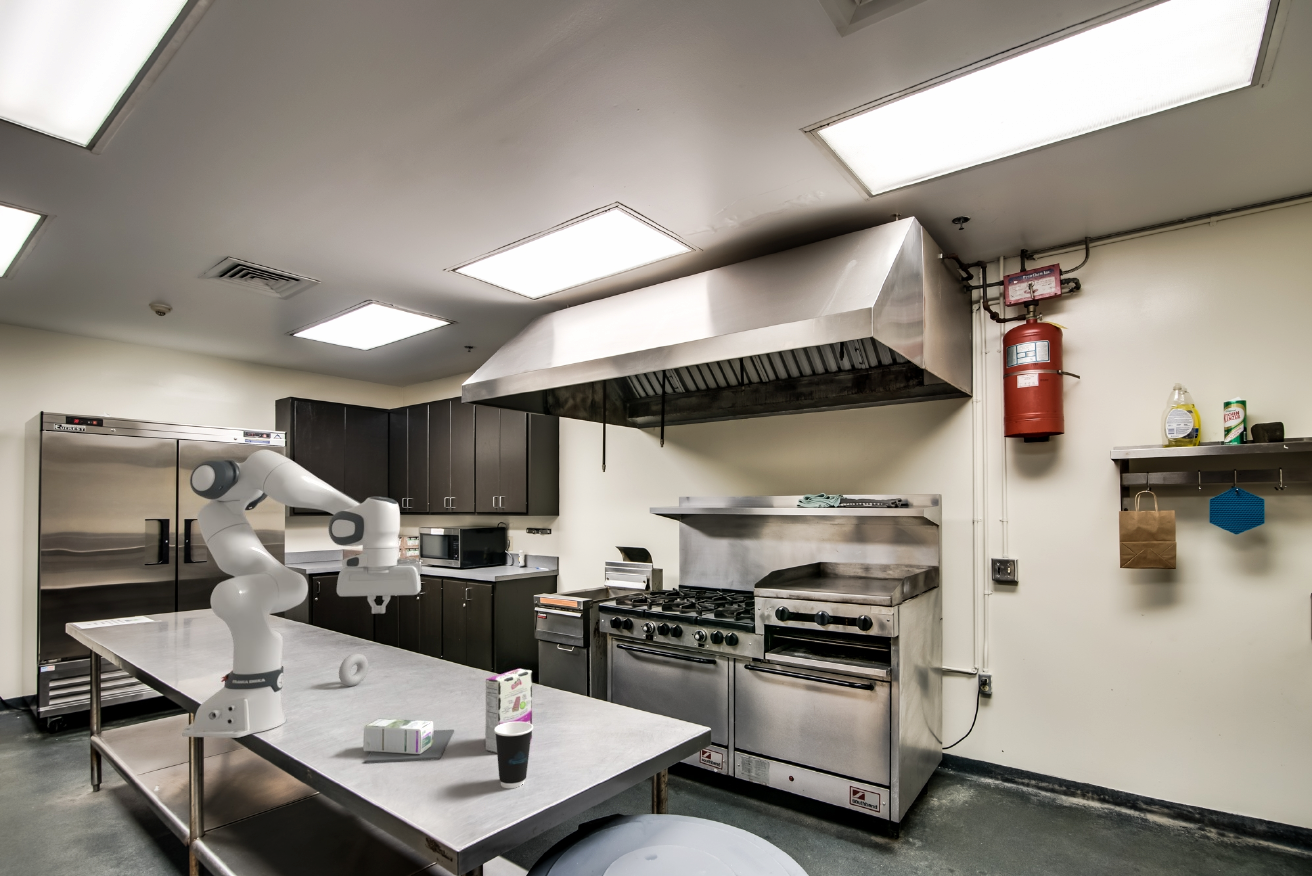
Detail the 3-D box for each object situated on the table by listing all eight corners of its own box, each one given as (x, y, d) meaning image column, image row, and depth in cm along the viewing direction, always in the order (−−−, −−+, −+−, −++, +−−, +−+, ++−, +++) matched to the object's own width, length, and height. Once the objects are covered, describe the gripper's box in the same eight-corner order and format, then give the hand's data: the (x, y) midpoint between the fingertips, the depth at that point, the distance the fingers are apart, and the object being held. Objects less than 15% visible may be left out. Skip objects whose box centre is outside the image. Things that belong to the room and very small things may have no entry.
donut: (342, 690, 200) (344, 657, 202) (335, 689, 202) (337, 656, 203) (370, 682, 209) (371, 650, 210) (363, 681, 211) (364, 649, 212)
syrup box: (362, 751, 149) (420, 756, 146) (363, 725, 149) (421, 729, 147) (377, 742, 154) (433, 746, 152) (378, 716, 155) (434, 720, 152)
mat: (364, 763, 143) (364, 760, 144) (387, 735, 161) (387, 732, 161) (439, 759, 146) (439, 756, 146) (454, 731, 163) (454, 729, 163)
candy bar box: (517, 736, 160) (518, 667, 162) (532, 739, 158) (533, 670, 159) (483, 750, 151) (485, 677, 153) (498, 755, 148) (500, 680, 150)
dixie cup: (518, 794, 128) (519, 736, 129) (484, 788, 131) (486, 731, 132) (539, 778, 135) (540, 723, 136) (507, 773, 138) (508, 719, 139)
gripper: (424, 557, 174) (422, 610, 172) (344, 558, 171) (341, 612, 169) (419, 559, 167) (417, 614, 166) (335, 560, 165) (333, 616, 163)
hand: (378, 613), depth 168 cm, fingers closed
